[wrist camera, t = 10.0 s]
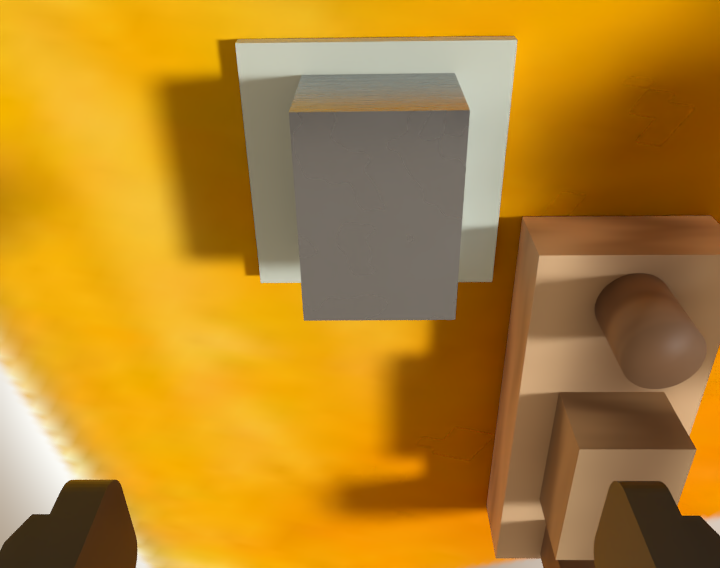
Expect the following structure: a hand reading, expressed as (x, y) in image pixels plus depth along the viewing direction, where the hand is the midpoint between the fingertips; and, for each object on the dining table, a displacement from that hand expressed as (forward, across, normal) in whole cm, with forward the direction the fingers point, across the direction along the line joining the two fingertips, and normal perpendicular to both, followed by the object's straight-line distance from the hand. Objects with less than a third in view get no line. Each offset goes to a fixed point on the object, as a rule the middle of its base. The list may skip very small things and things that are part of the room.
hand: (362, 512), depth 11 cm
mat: (+15, 0, 0) cm, 15 cm away
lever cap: (+15, 0, 0) cm, 15 cm away
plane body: (+15, -10, +10) cm, 21 cm away
